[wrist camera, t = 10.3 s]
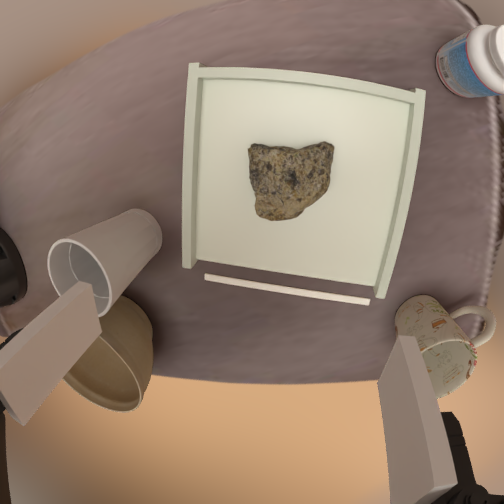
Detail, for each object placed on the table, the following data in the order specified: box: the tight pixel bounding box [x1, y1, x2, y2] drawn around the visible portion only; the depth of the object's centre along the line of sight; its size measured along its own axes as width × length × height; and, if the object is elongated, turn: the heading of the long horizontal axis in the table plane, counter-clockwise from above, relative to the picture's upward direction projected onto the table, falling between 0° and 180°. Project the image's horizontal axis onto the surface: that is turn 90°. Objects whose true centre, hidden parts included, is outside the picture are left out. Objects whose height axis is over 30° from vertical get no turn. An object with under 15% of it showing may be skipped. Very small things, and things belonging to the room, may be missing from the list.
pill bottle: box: [436, 25, 504, 98], centre depth 16 cm, size 6×6×11 cm
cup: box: [48, 209, 162, 317], centre depth 30 cm, size 8×8×12 cm
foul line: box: [205, 273, 370, 305], centre depth 34 cm, size 19×1×1 cm, turn 85°
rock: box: [248, 141, 334, 221], centre depth 27 cm, size 7×8×4 cm
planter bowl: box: [62, 295, 153, 413], centre depth 37 cm, size 16×16×11 cm
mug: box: [395, 295, 496, 399], centre depth 28 cm, size 8×13×10 cm, turn 119°
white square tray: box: [182, 63, 426, 299], centre depth 28 cm, size 22×21×2 cm
